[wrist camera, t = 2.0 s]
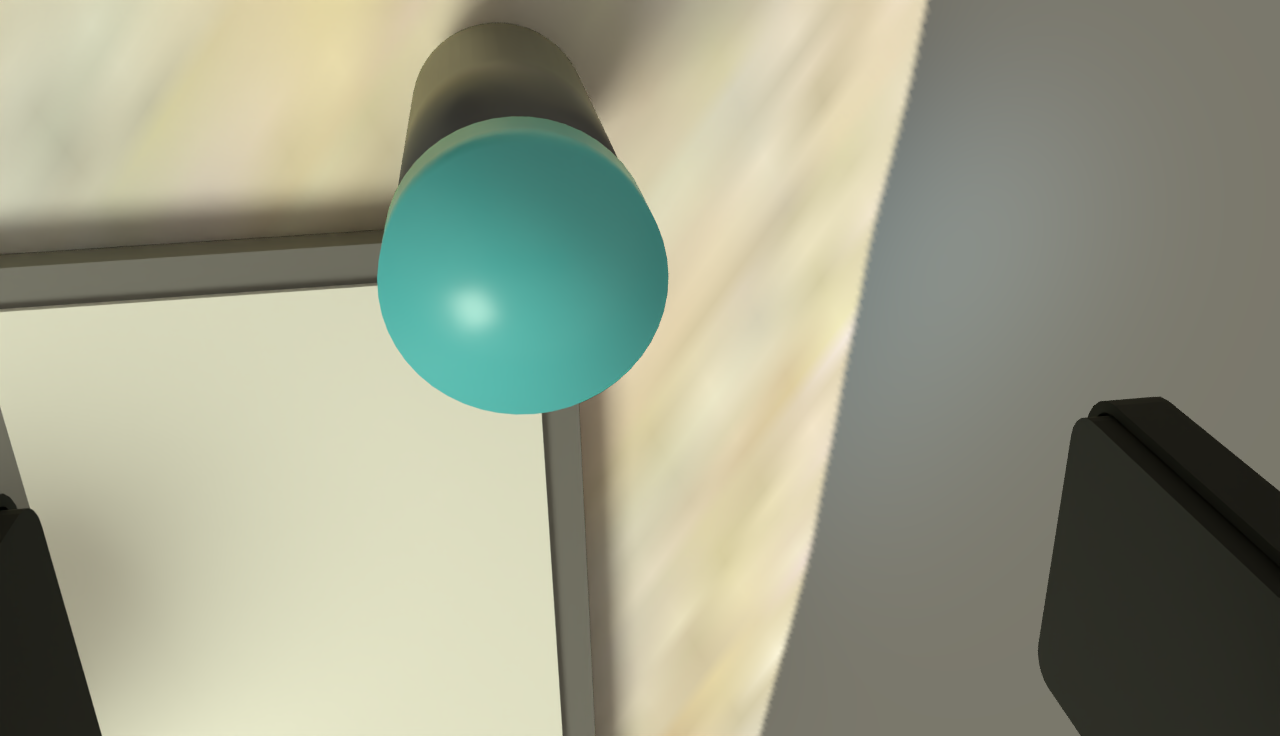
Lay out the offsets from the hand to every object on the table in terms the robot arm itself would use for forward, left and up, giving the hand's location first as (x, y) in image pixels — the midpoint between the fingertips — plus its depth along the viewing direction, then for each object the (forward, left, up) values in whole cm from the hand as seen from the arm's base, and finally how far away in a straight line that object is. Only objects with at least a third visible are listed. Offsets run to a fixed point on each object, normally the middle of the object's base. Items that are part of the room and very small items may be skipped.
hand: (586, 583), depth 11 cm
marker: (0, 0, -19) cm, 19 cm away
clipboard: (+14, -6, -19) cm, 24 cm away
